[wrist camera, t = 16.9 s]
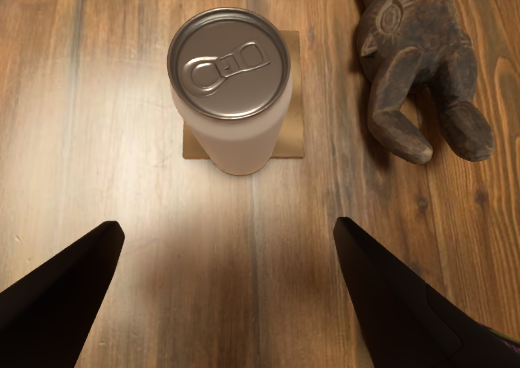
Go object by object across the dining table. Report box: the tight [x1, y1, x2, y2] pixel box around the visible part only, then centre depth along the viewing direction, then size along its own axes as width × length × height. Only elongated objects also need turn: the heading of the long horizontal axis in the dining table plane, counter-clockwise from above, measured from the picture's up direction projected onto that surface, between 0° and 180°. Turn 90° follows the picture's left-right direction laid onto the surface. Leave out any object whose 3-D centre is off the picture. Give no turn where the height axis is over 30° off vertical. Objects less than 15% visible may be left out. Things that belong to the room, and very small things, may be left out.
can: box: [167, 7, 293, 175], centre depth 16 cm, size 6×6×12 cm
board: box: [183, 31, 304, 159], centre depth 23 cm, size 14×12×1 cm
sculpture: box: [356, 0, 495, 165], centre depth 22 cm, size 10×26×7 cm, turn 4°
